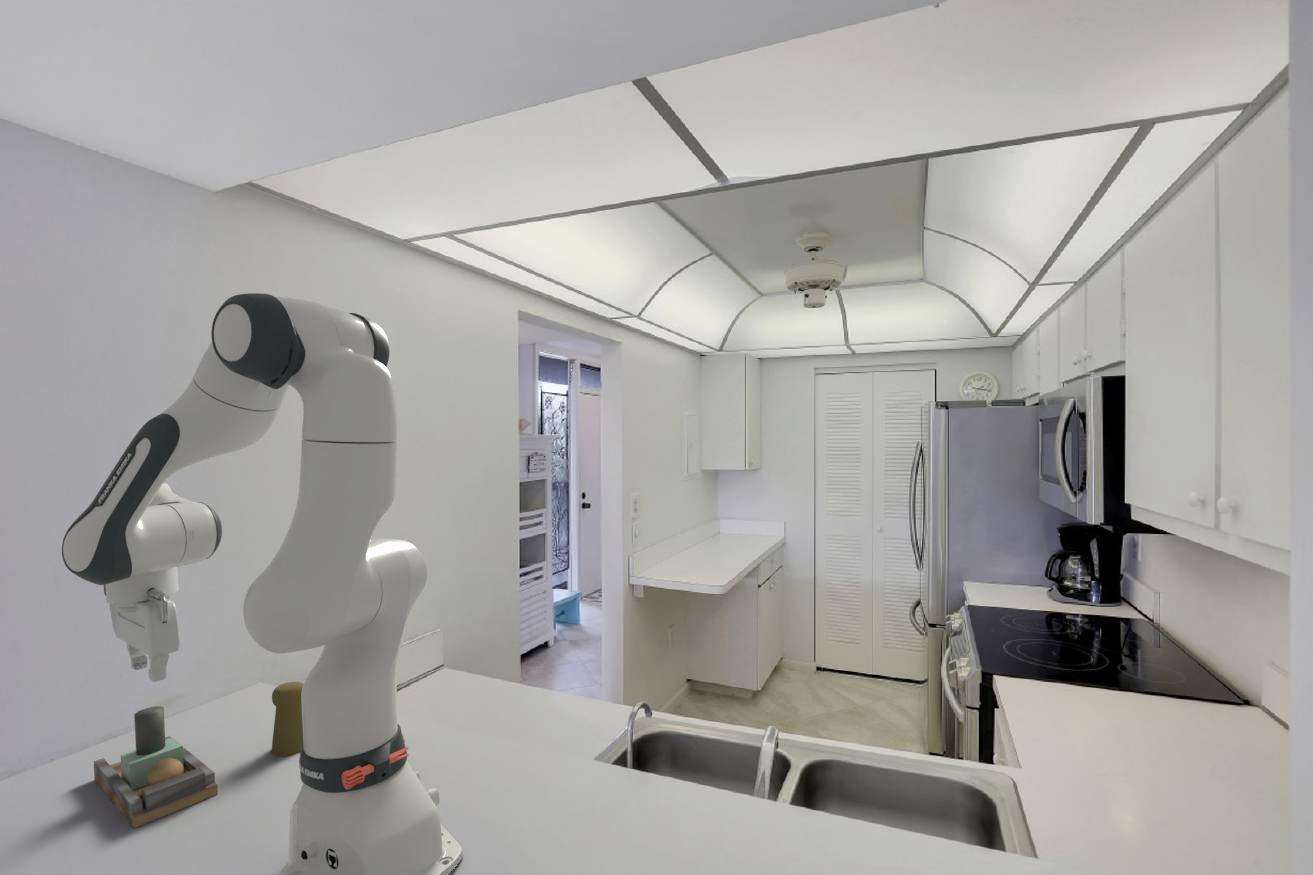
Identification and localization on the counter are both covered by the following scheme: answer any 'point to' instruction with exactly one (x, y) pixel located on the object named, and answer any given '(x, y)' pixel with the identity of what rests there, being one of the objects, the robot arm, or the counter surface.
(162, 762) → the walnut
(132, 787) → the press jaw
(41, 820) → the counter surface
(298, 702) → the cork
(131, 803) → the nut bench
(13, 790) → the counter surface
